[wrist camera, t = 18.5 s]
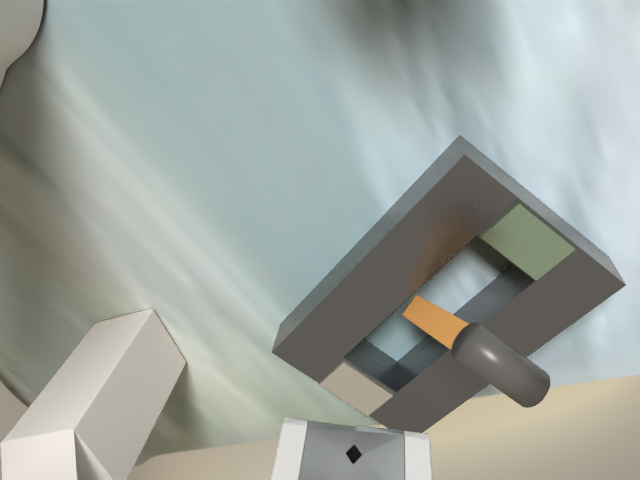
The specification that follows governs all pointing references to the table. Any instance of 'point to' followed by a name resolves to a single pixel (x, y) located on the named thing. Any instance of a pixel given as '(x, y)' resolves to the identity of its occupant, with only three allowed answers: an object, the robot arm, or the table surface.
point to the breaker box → (421, 264)
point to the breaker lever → (482, 353)
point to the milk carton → (97, 405)
